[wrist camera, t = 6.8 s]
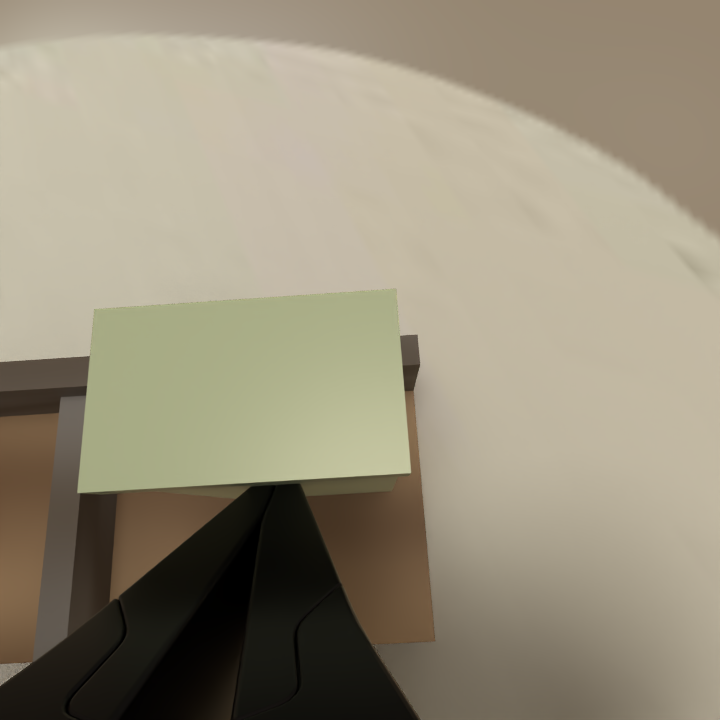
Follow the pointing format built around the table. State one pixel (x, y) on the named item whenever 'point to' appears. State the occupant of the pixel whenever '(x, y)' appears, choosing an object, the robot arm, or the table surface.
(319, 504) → the brown wooden rack
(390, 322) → the pale green tall block
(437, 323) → the table surface
